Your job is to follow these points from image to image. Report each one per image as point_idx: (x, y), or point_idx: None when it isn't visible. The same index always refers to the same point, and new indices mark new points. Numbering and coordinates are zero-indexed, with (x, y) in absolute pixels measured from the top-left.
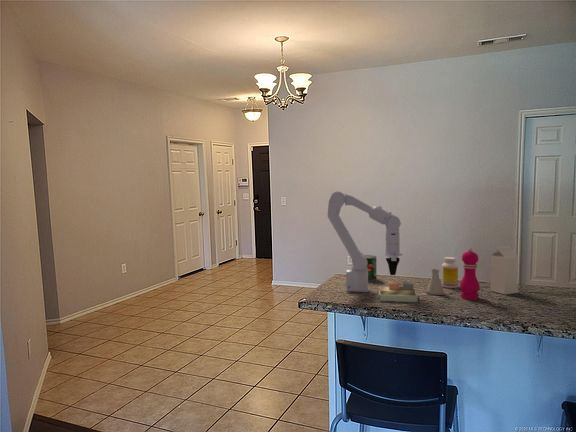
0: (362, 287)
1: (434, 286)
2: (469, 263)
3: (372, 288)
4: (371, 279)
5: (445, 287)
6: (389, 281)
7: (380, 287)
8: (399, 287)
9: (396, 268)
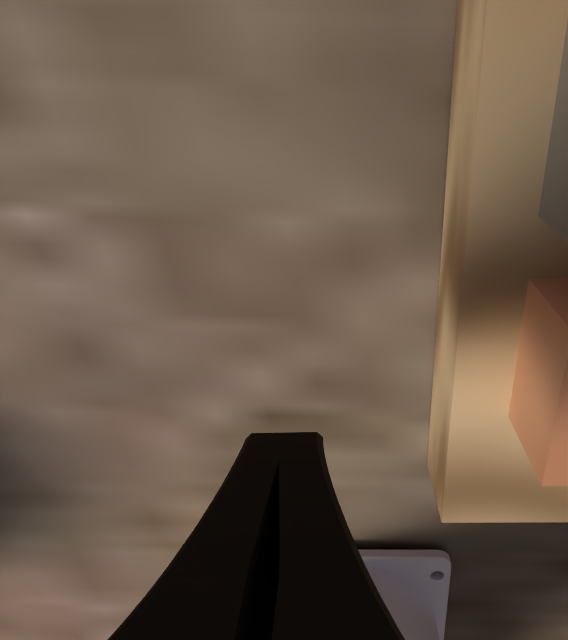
0: (437, 636)
1: None
2: None
3: None
4: None
5: None
6: (542, 473)
7: (516, 505)
8: (517, 261)
9: (361, 558)
